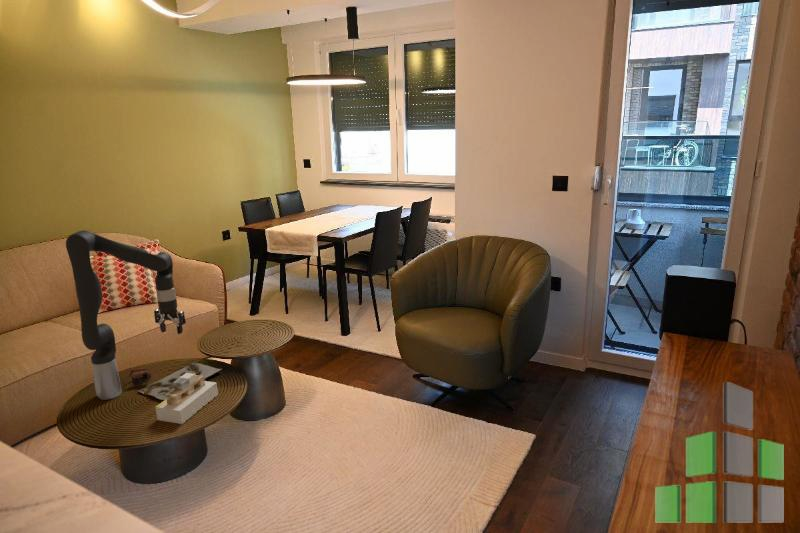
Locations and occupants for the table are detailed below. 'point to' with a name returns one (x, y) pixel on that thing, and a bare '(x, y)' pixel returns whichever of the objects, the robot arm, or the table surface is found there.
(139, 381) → the pottery mug
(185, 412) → the white rectangular box
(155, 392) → the stone relief
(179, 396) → the tan long block
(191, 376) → the cream white block
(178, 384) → the grey block
